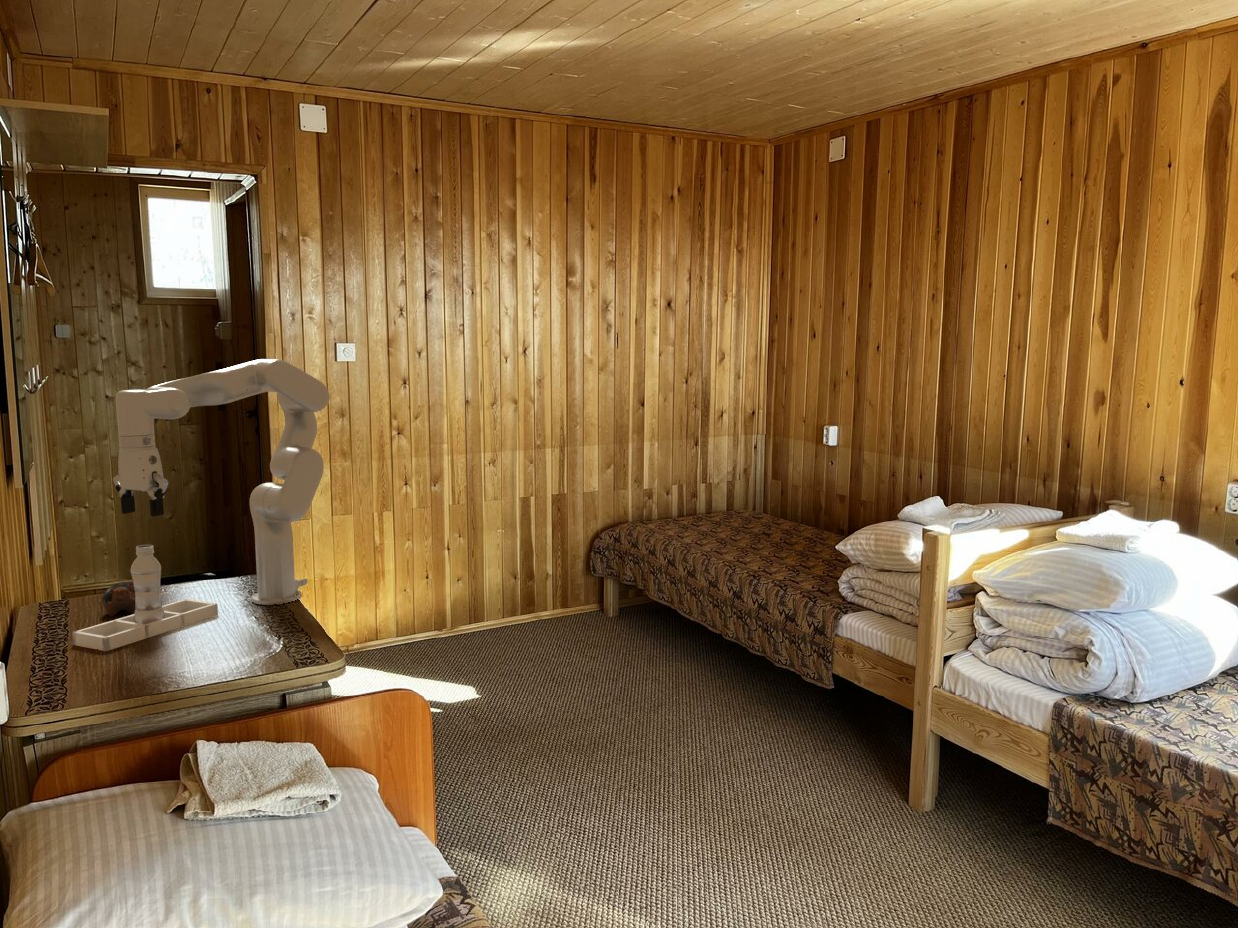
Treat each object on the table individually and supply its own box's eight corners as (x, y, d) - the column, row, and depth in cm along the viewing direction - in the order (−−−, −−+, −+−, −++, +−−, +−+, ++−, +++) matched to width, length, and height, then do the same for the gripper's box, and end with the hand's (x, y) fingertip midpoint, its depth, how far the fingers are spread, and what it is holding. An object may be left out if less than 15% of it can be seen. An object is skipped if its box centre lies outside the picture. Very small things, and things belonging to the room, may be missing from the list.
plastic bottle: (157, 631, 220) (152, 549, 217) (129, 631, 220) (123, 549, 217) (170, 623, 226) (165, 543, 224) (143, 623, 226) (137, 543, 224)
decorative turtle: (102, 622, 229) (98, 590, 228) (105, 611, 242) (101, 581, 241) (146, 615, 233) (142, 583, 232) (147, 604, 246) (143, 575, 246)
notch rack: (186, 610, 239) (186, 598, 238) (217, 615, 234) (217, 603, 234) (73, 644, 211) (72, 632, 210) (106, 651, 206) (105, 638, 206)
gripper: (176, 442, 217) (182, 513, 219) (126, 439, 224) (131, 509, 226) (149, 445, 210) (154, 519, 212) (97, 442, 217) (103, 514, 220)
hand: (142, 514), depth 219 cm, fingers open, 9 cm apart
